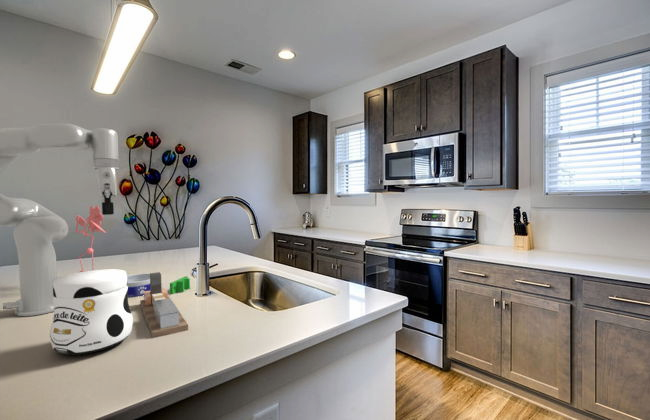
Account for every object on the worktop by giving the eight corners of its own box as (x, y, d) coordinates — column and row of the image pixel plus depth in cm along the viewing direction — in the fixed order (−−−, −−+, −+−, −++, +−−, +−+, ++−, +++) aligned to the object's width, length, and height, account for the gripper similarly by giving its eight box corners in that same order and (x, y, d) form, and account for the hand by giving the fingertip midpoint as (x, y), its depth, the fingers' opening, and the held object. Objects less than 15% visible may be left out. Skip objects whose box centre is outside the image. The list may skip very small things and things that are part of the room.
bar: (169, 313, 101) (168, 283, 100) (158, 316, 99) (157, 285, 99) (159, 297, 117) (158, 271, 117) (150, 299, 116) (149, 272, 115)
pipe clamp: (178, 295, 127) (178, 283, 127) (170, 294, 128) (169, 283, 127) (193, 286, 138) (193, 276, 138) (185, 286, 139) (185, 276, 139)
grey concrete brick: (179, 325, 92) (179, 310, 92) (160, 329, 90) (160, 314, 90) (170, 310, 104) (170, 297, 104) (153, 314, 102) (153, 300, 102)
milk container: (38, 368, 73) (34, 288, 72) (64, 337, 89) (61, 272, 88) (128, 352, 80) (125, 279, 79) (137, 326, 96) (135, 266, 95)
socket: (168, 301, 114) (167, 292, 114) (146, 305, 110) (145, 296, 110) (164, 296, 120) (164, 288, 120) (143, 300, 116) (143, 291, 116)
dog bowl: (127, 300, 121) (127, 284, 121) (107, 294, 129) (106, 279, 129) (166, 290, 134) (165, 275, 134) (145, 285, 142) (144, 271, 142)
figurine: (92, 291, 133) (91, 205, 132) (65, 283, 147) (64, 205, 146) (131, 283, 146) (130, 205, 145) (103, 276, 160) (102, 205, 159)
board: (188, 329, 93) (188, 324, 93) (152, 337, 88) (152, 332, 88) (168, 299, 121) (168, 295, 120) (140, 304, 115) (140, 300, 115)
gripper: (119, 163, 109) (121, 214, 109) (117, 167, 123) (119, 212, 123) (92, 162, 104) (94, 215, 105) (93, 166, 119) (95, 213, 119)
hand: (107, 214), depth 114 cm, fingers open, 9 cm apart
